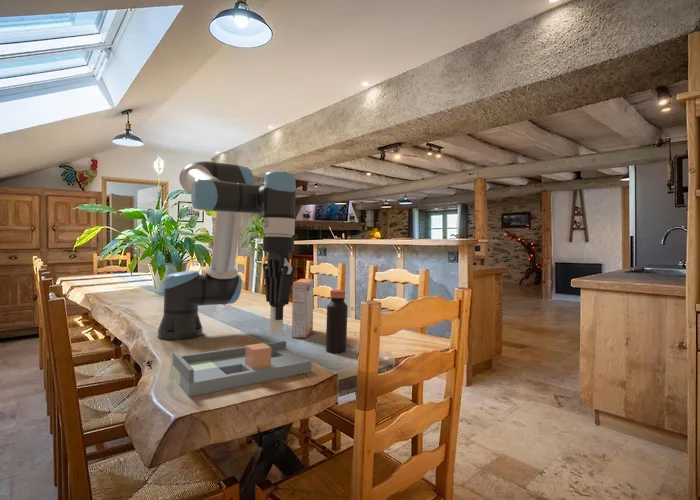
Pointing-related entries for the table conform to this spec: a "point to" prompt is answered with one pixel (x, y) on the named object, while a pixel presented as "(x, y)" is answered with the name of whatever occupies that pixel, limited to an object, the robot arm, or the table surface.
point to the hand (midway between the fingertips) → (276, 332)
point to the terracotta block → (258, 356)
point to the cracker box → (302, 308)
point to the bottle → (336, 323)
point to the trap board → (233, 369)
